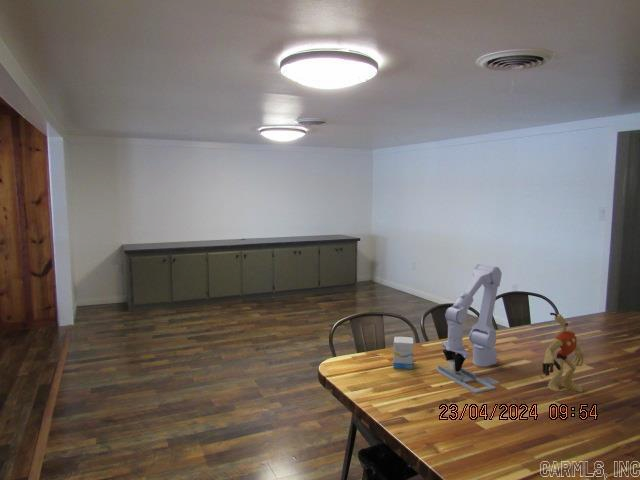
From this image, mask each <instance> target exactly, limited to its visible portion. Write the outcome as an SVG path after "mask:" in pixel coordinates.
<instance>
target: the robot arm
mask: <svg viewBox="0 0 640 480" xmlns="http://www.w3.org/2000/svg"><path fill="white" fill-rule="evenodd" d="M502 274H503V273H502V271H501V269H500V267H498V266H490V265H484V264H480V263H479V264H476V265H475V266H474V268H473V270H472V278H471V280H470V281H469V284H468V286H467V288H466V290H465V291H463V292H460V294H459V296H458V297H457V298H456V300H455V301H454V303H453V304H452V306H450V307H448V308H447V309H446V310H445V313H444V318H445V319H446V324H447V341H442V342H441V347H442V348H445V349H443V350H442V353H443V354H444V357H445V359H446V362H447V361H448V360H454V361H455V370H456V372H458V371H461V368H463V364H464V363H465V361H466V359H467V358H470V352H468V351H467V350H466V349H465V348H464V347H463V339H464V338H463V337H464V336H463V335H464V334H463V331H464V322H465V321H466V319H467V315H468V311H469V308H470V307H471V306H472V304H473V302H474V295H475V294H476V293H477V292H478V290H480V288H481V287H482V286H483V287H484V288H483V289H484V290H483V293H482V300H481V305H480V310H479V315H478V316H479V317H478V320H477V321H478V322H477V323H475V324H473V325H471V326H472V327H471V330H470V332H469V336H468V339H469V342H470V343H471V346H472V363H473V364H474V365H475V366H477V367H489V366H492V365H497V357H498V356H497V354H498V353H497V349H496V348H495V345H496V342H497V339H496V336H497V335H496V334H497V331H496V330H495V329H494V328H493V326H492V321H493V315H494V309H495V306H496V305H495V304H496V299H497V292H498V288H499V287H500V284H501V280H502Z"/></svg>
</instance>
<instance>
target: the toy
mask: <svg viewBox="0 0 640 480" xmlns="http://www.w3.org/2000/svg"><path fill="white" fill-rule="evenodd" d="M549 314H550V316H554V320H555V321H556V322H557V323H558V324H559V326H561V329H562V331H561V332H560V333H558V335H556V336H555V338H553V340H552V341H551V343H550V344H549V345H548V347H547V349H546V350H545V354H544V359H543V363H542V374H544V375H545V377H547V376H550V373H551V374H552V373H554V366H555V368H556V370H557V372H556V373H555V374H553V376H552V377H551V379H550V380H549V382H548V384H547V387H548V389H550V390H552V391H555V392H559V391H560V387H559V382H560V380H561V378H562V376H563V374H564V362H565V364H567V366H569V367H570V368H569V369H568V370H567V371H566V372H565V374H564V376H563V378H562V380H561V387H564V388H566V389H569V390H572V391H576V392H579V393H582V392H584V391H583V390H584V389H583V388H582V387H581V386H579V384H577V383H575V382H574V381H573V376H574V374H575V373H574V372H575V371H576V370H577V368H576V367H583V364H584V358H585V357H586V354H585V353H584V352H583V350H582V349H581V347H580V346H579V344H578V337H577V336H576V334H575V332H574V331H572V330H567V326H569V325H568V324H569V322H566V320H565V318H564V317H563V316H562V314H560V313H558V314H557V313H555V312H549ZM559 348H560V350H558V351H557V349H559ZM556 351H557V353H556V356H555V352H556ZM573 352H574V356H575V357H574V358H573V360H572V361H571V360H570V358H569V357H568V356H570V355H571V354H572V353H573ZM554 356H555V357H556V359H555V357H554ZM556 360H557V361H556ZM559 396H560V395H558V397H559Z"/></svg>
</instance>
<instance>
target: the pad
mask: <svg viewBox="0 0 640 480" xmlns="http://www.w3.org/2000/svg"><path fill="white" fill-rule="evenodd" d="M479 379H481V380H483V381H485V382H487V383H489V384H491V385H495V384H498V383H499V384H500V383H501V382H500V381H498V380H496V379H494V378H493V377H490V376H486V377H481V378H479Z"/></svg>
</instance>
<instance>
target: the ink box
mask: <svg viewBox="0 0 640 480" xmlns="http://www.w3.org/2000/svg"><path fill="white" fill-rule="evenodd" d="M392 354H393V358H392V364H393V365H392V367H393V369H399V370H400V369H401V370H414V337H411V336H409V337H408V336H394V339H393V353H392Z"/></svg>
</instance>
